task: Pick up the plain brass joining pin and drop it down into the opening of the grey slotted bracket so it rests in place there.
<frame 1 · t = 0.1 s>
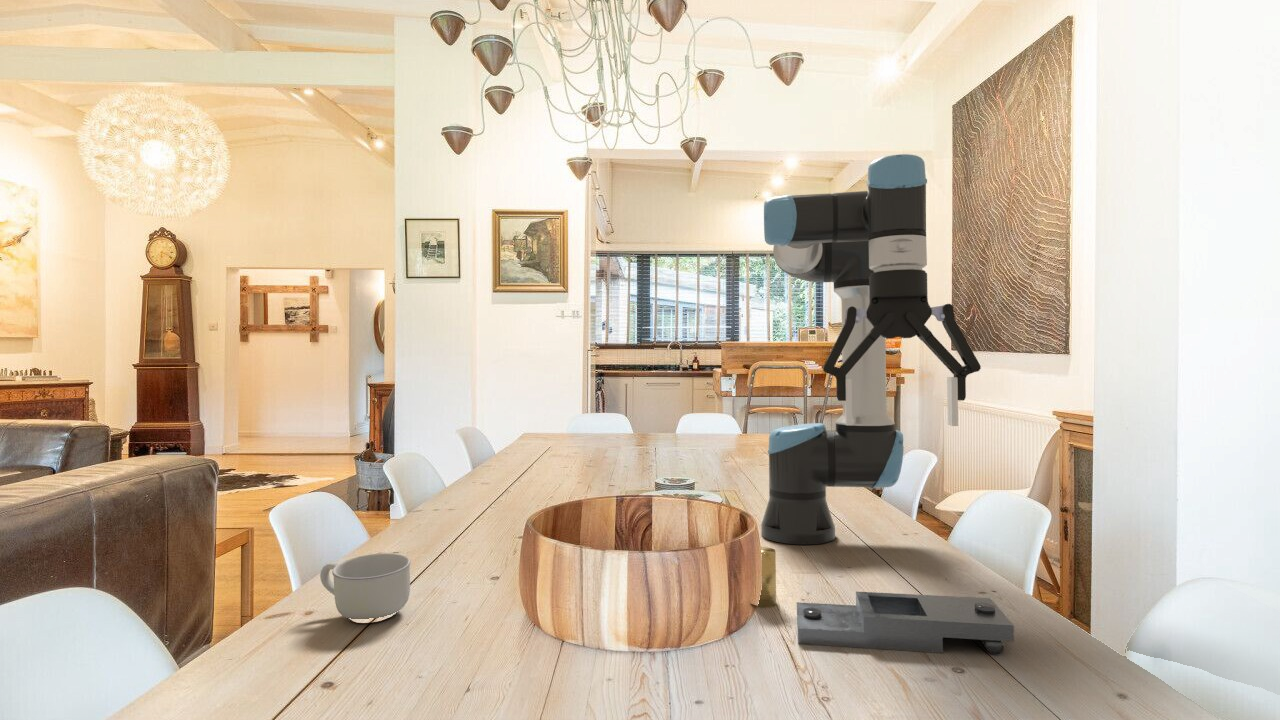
hand: (899, 425, 97), 28 cm above the table, fingers open, 13 cm apart
brass pin: (762, 602, 107), on the table
teacup: (364, 616, 105), on the table
grey slotted bracket: (896, 635, 94), on the table
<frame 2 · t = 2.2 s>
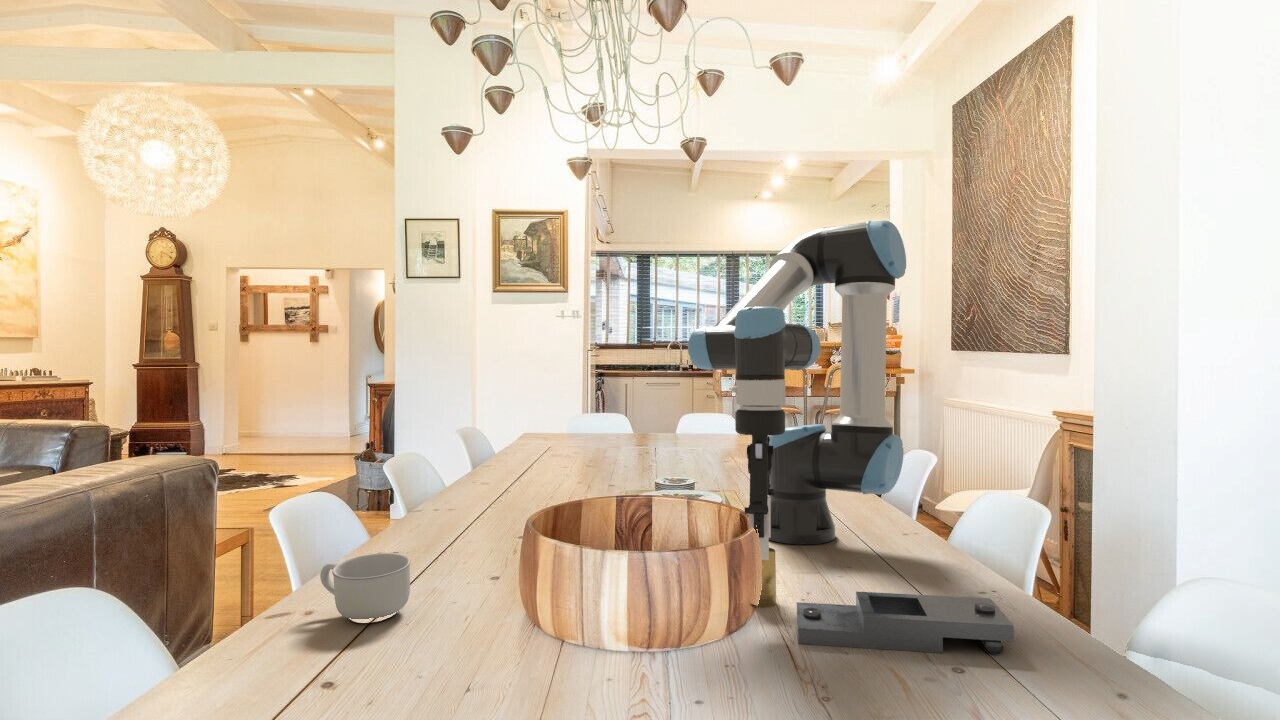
hand: (760, 547, 107), 8 cm above the table, fingers open, 13 cm apart
nothing on the table moved.
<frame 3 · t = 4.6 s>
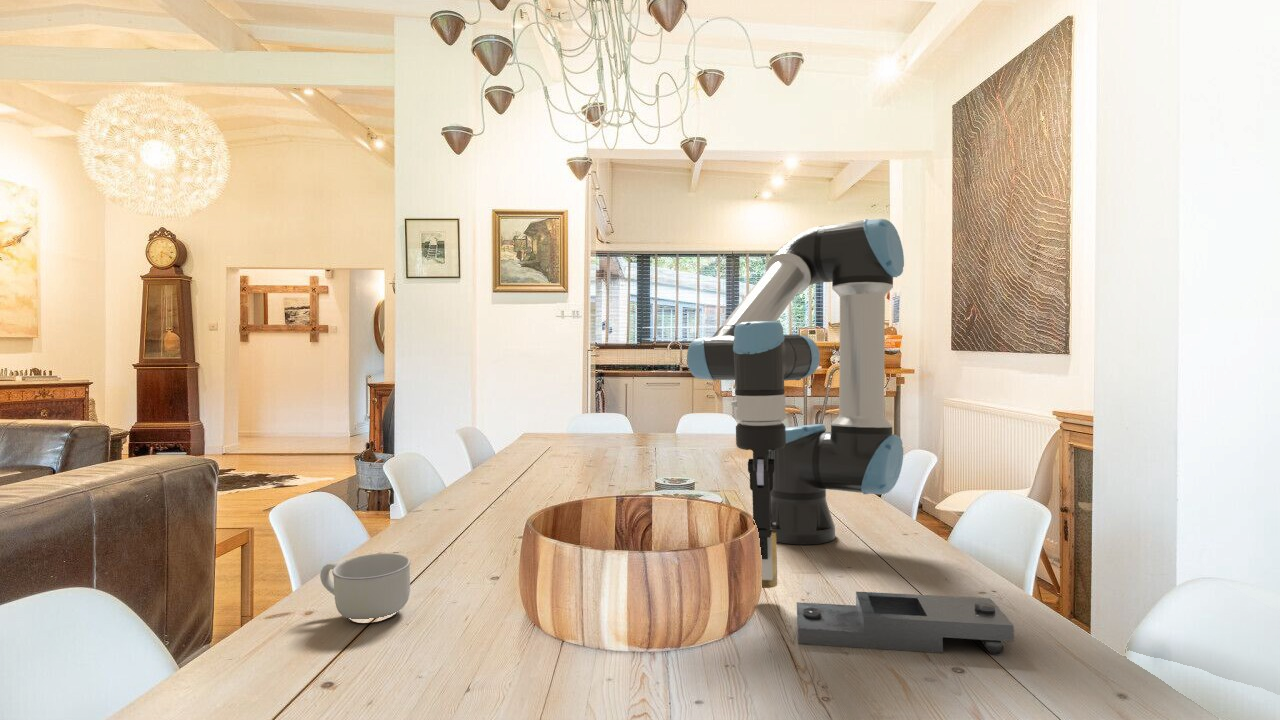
hand: (763, 574, 108), 4 cm above the table, fingers closed on brass pin, 3 cm apart
brass pin: (764, 583, 108), point 3 cm above the table, touching gripper
everything else where it was.
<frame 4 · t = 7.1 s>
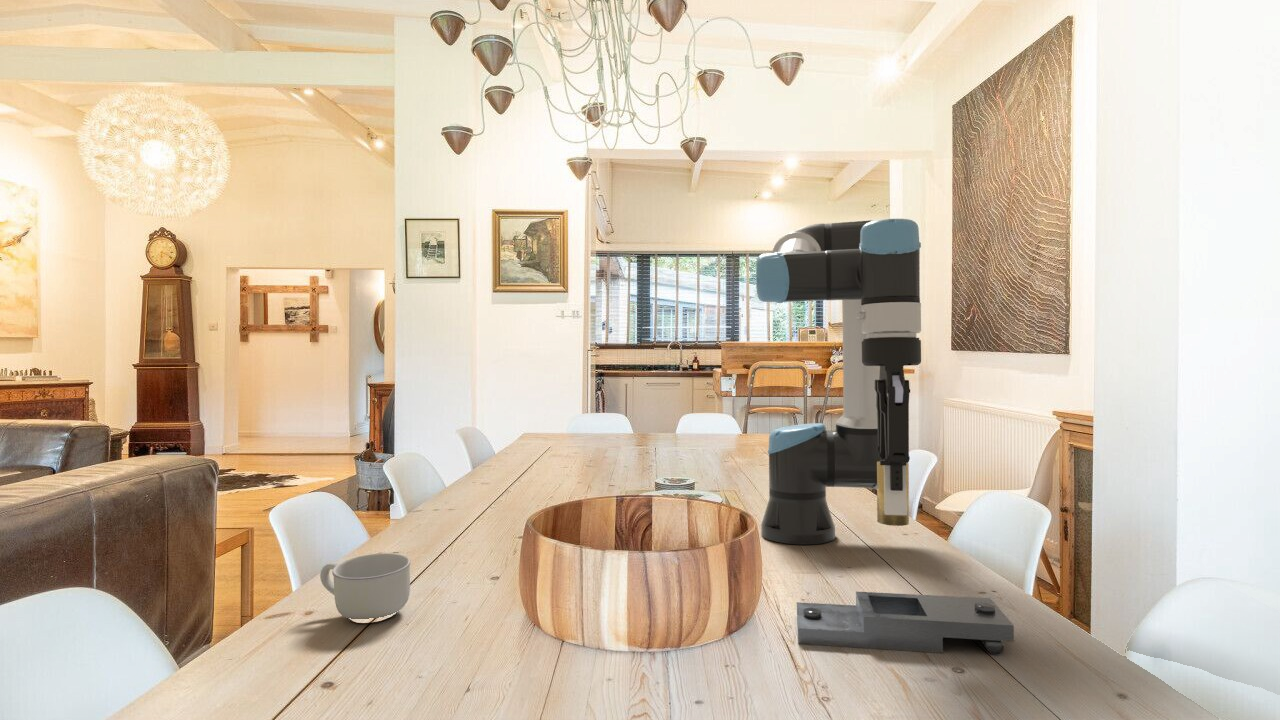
hand: (893, 510, 94), 17 cm above the table, fingers closed on brass pin, 3 cm apart
brass pin: (893, 522, 94), point 15 cm above the table, touching gripper
everything else where it was.
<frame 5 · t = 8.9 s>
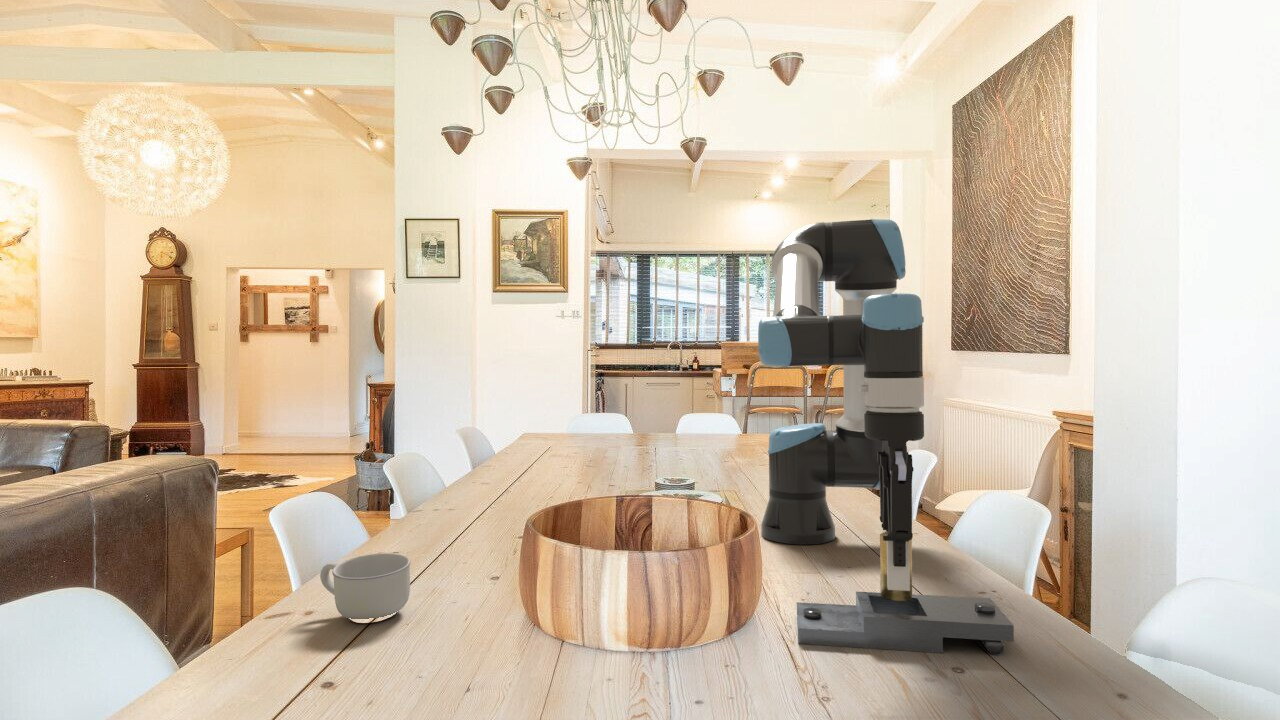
hand: (896, 584, 94), 7 cm above the table, fingers closed on brass pin, 3 cm apart
brass pin: (896, 595, 94), point 5 cm above the table, touching gripper
everything else where it was.
when the fingers open (7 cm above the table, at t = 10.0 s): brass pin drops 5 cm, resting in grey slotted bracket.
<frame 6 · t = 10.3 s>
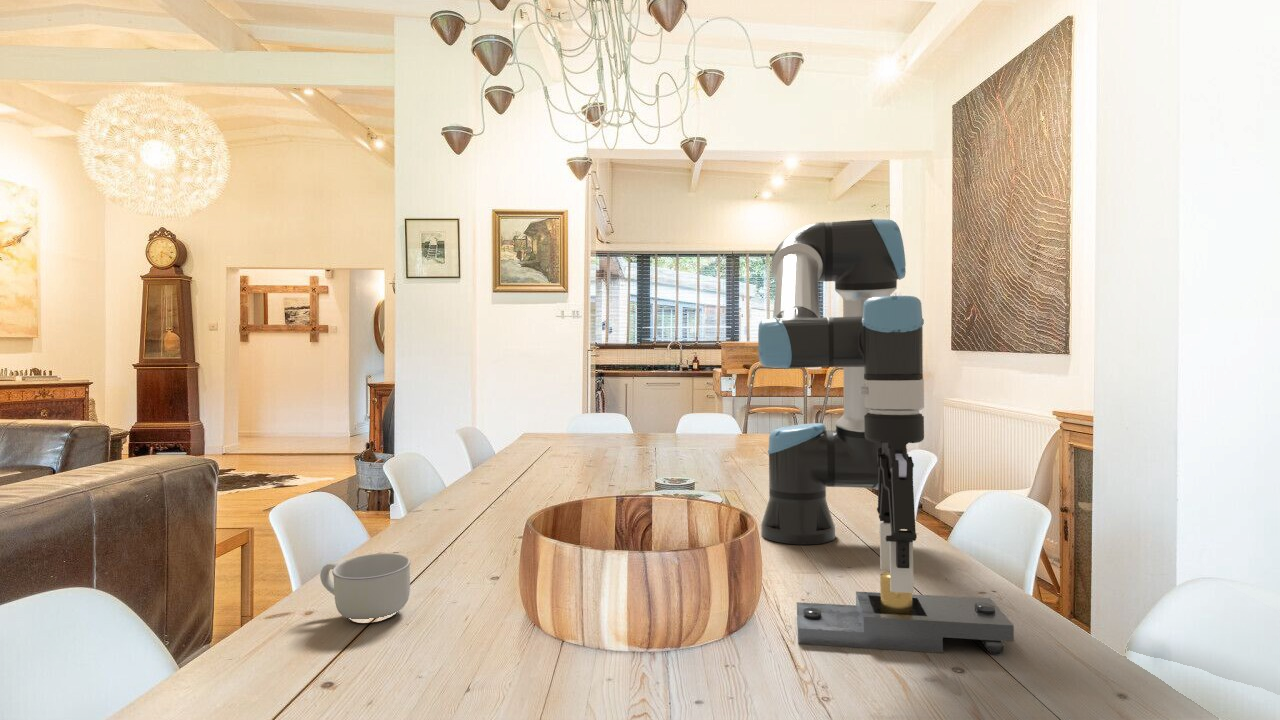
hand: (896, 579, 94), 7 cm above the table, fingers open, 9 cm apart
brass pin: (896, 635, 94), resting in grey slotted bracket
everything else where it was.
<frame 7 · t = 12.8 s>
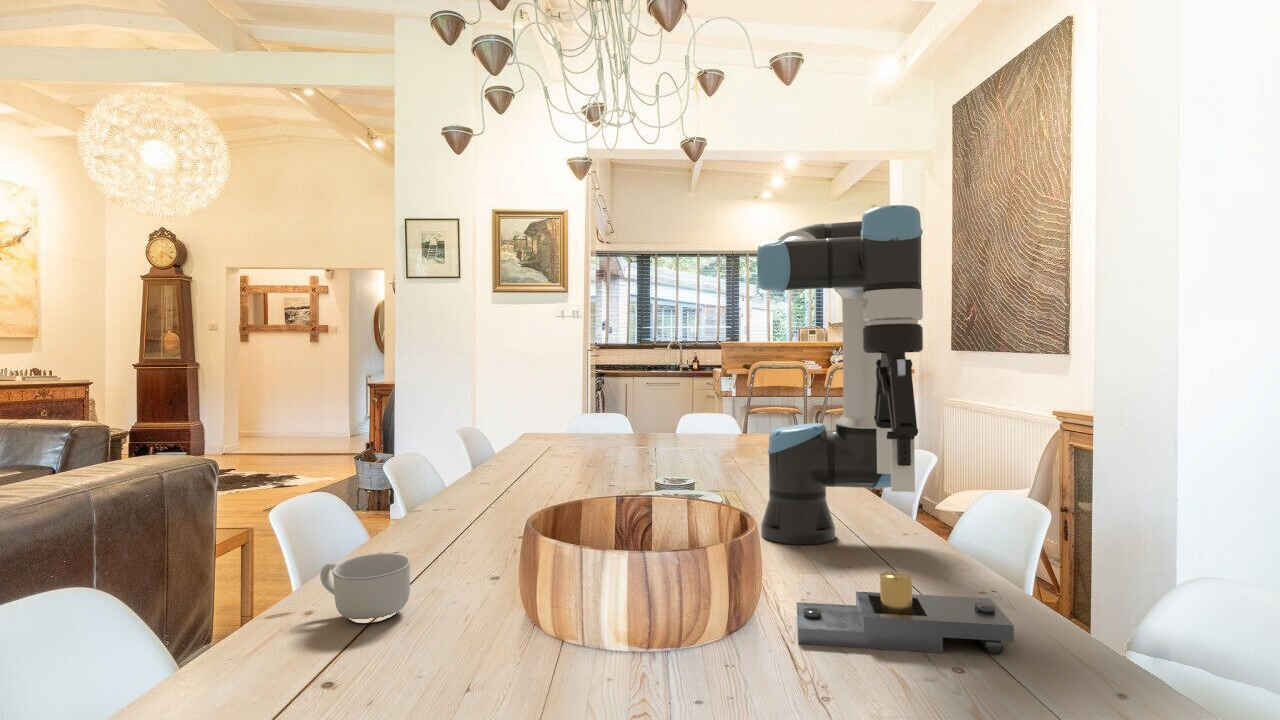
hand: (894, 482, 94), 21 cm above the table, fingers open, 13 cm apart
nothing on the table moved.
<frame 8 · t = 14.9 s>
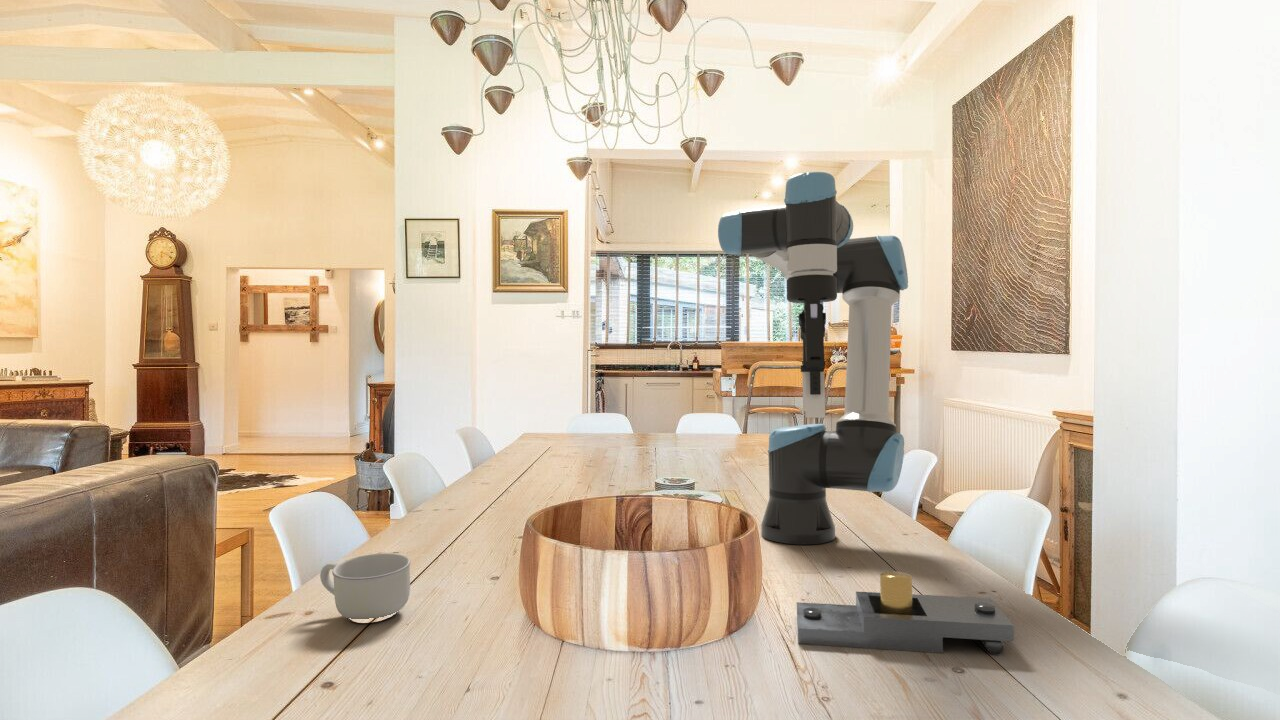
hand: (813, 414, 108), 29 cm above the table, fingers open, 13 cm apart
nothing on the table moved.
at the end: brass pin 0.1 cm off-centre on the grey slotted bracket, point 0.0 cm above the grey slotted bracket's base; brass pin tilted 0°; the gripper is holding nothing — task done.
